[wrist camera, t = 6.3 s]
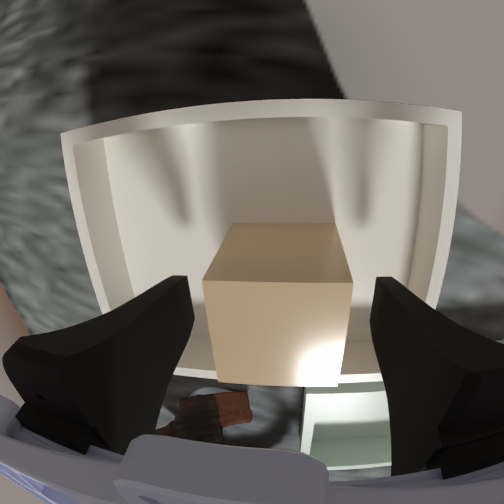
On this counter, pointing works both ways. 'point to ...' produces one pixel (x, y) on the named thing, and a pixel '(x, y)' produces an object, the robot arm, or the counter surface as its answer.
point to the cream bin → (267, 198)
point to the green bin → (347, 425)
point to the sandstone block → (279, 304)
